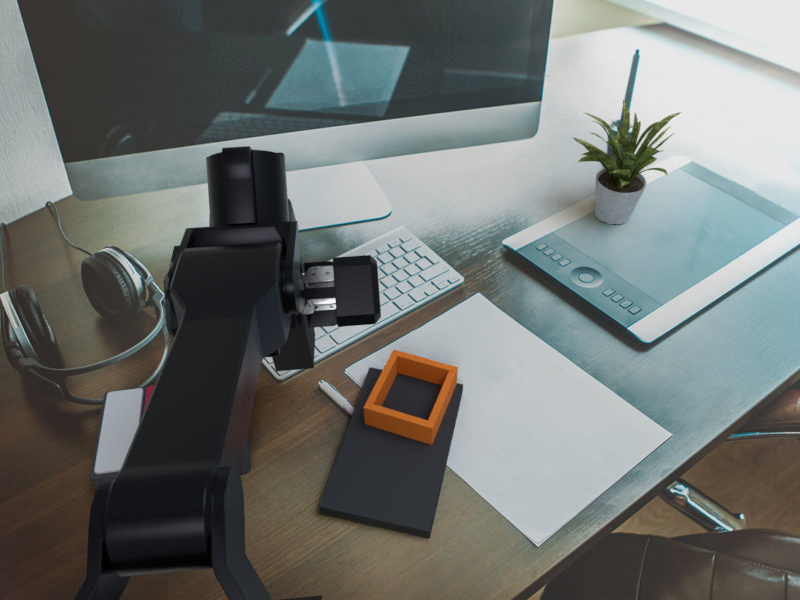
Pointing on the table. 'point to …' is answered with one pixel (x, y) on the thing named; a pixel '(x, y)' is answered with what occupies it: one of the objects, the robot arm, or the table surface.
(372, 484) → the base pad
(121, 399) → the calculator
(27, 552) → the table surface
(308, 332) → the dark gray block
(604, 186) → the house plant
